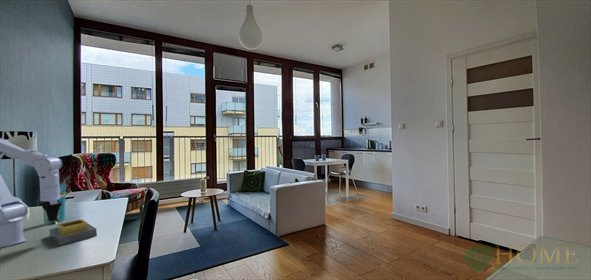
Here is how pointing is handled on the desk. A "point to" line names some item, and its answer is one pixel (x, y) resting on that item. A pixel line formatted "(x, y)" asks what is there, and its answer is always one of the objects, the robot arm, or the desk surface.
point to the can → (46, 221)
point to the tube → (62, 199)
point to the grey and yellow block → (72, 232)
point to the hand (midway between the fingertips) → (51, 219)
